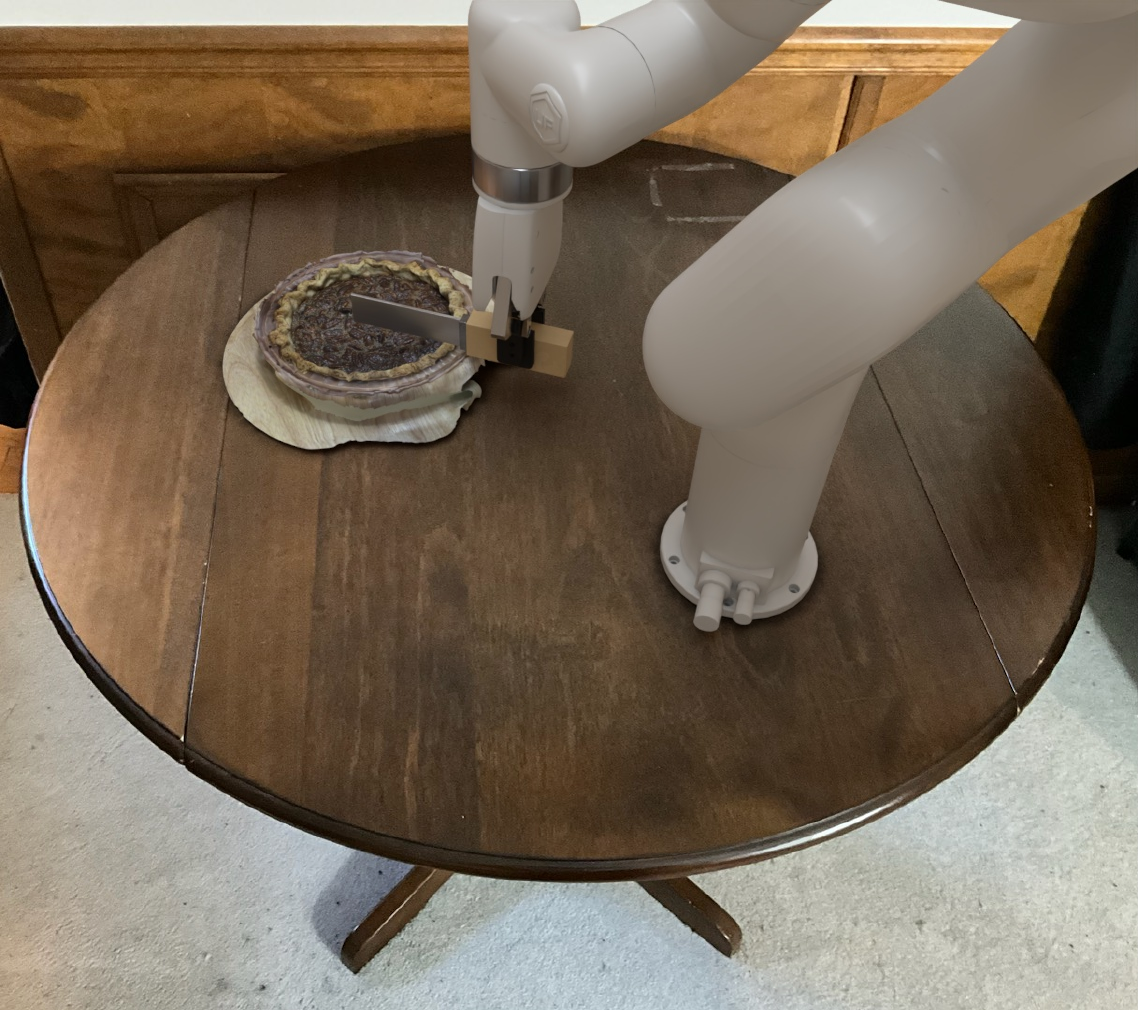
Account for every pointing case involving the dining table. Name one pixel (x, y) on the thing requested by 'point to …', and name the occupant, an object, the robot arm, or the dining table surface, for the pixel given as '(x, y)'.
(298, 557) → the dining table surface
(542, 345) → the knife
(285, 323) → the pie
